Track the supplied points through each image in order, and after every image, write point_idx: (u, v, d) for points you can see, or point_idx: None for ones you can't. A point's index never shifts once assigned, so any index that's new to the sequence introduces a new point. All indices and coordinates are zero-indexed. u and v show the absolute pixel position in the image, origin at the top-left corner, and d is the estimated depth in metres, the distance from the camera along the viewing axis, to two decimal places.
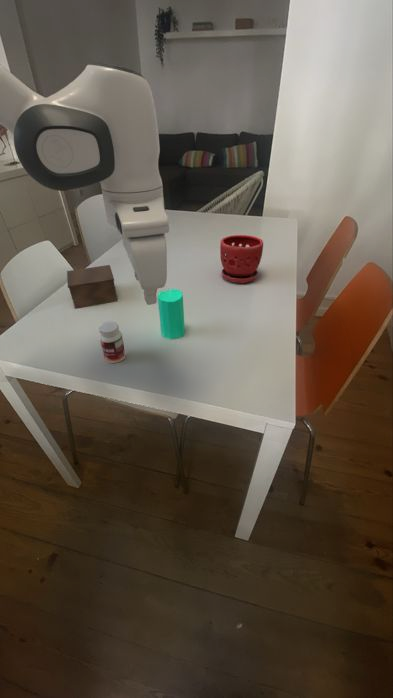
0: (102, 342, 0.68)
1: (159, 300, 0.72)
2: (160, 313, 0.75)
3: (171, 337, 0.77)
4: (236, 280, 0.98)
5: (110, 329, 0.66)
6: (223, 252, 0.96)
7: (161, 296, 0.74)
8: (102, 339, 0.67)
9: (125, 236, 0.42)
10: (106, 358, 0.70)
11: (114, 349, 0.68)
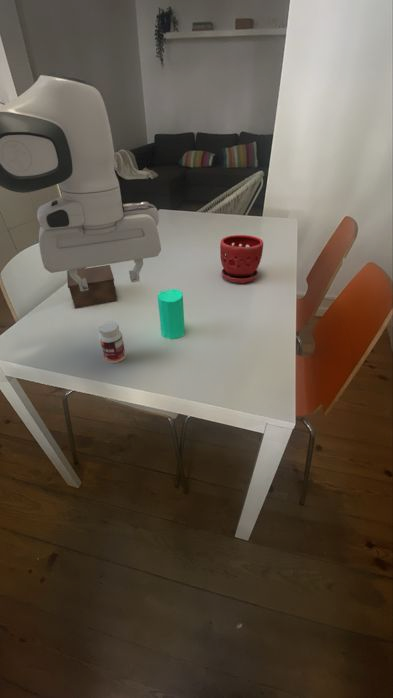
0: (102, 342, 0.68)
1: (159, 300, 0.72)
2: (160, 313, 0.75)
3: (171, 337, 0.77)
4: (236, 280, 0.98)
5: (110, 329, 0.66)
6: (223, 252, 0.96)
7: (161, 296, 0.74)
8: (102, 339, 0.67)
9: None
10: (106, 358, 0.70)
11: (114, 349, 0.68)
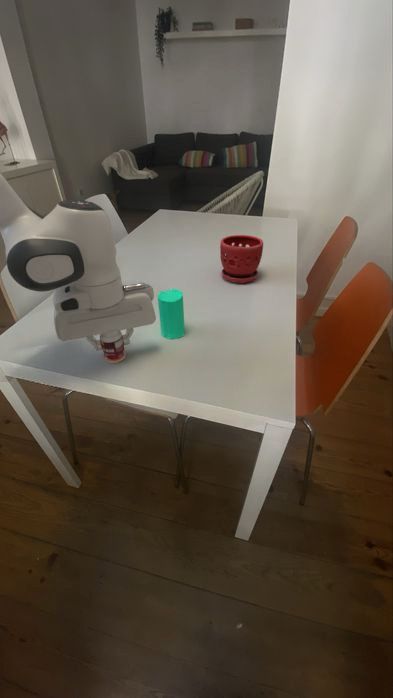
0: (102, 342, 0.68)
1: (159, 300, 0.72)
2: (160, 313, 0.75)
3: (171, 337, 0.77)
4: (236, 280, 0.98)
5: None
6: (223, 252, 0.96)
7: (161, 296, 0.74)
8: (102, 339, 0.67)
9: None
10: (106, 358, 0.70)
11: (114, 349, 0.68)
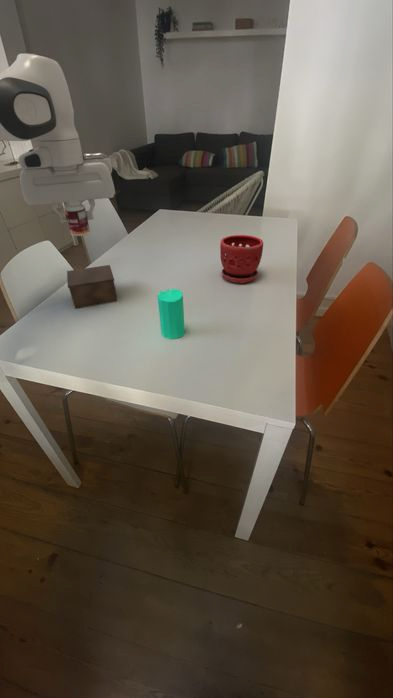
0: (66, 212, 0.75)
1: (159, 300, 0.72)
2: (160, 313, 0.75)
3: (171, 337, 0.77)
4: (236, 280, 0.98)
5: None
6: (223, 252, 0.96)
7: (161, 296, 0.74)
8: (66, 208, 0.75)
9: None
10: (71, 231, 0.78)
11: (78, 219, 0.76)
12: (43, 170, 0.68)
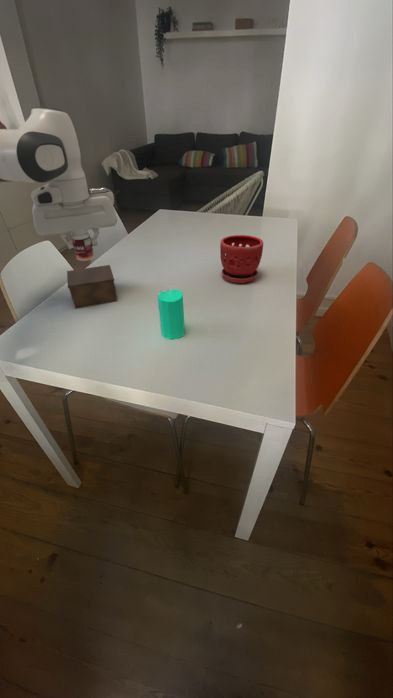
0: (73, 240, 0.83)
1: (159, 300, 0.72)
2: (160, 313, 0.75)
3: (171, 337, 0.77)
4: (236, 280, 0.98)
5: None
6: (223, 252, 0.96)
7: (161, 296, 0.74)
8: (73, 237, 0.82)
9: None
10: (78, 257, 0.85)
11: (84, 246, 0.84)
12: (54, 205, 0.75)
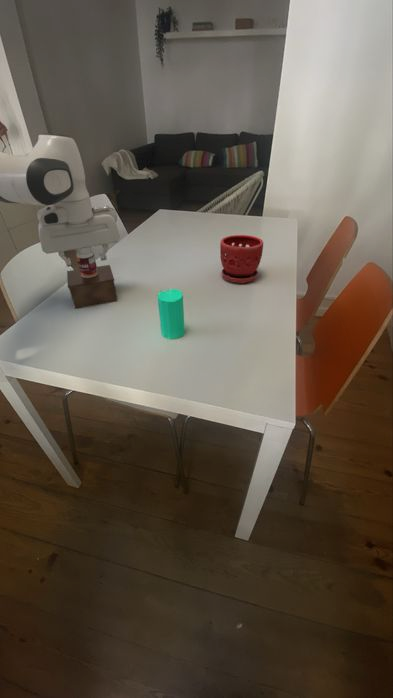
0: (78, 259, 0.86)
1: (159, 300, 0.72)
2: (160, 313, 0.75)
3: (171, 337, 0.77)
4: (236, 280, 0.98)
5: None
6: (223, 252, 0.96)
7: (161, 296, 0.74)
8: (78, 256, 0.85)
9: None
10: (82, 274, 0.89)
11: (89, 264, 0.87)
12: (59, 225, 0.78)
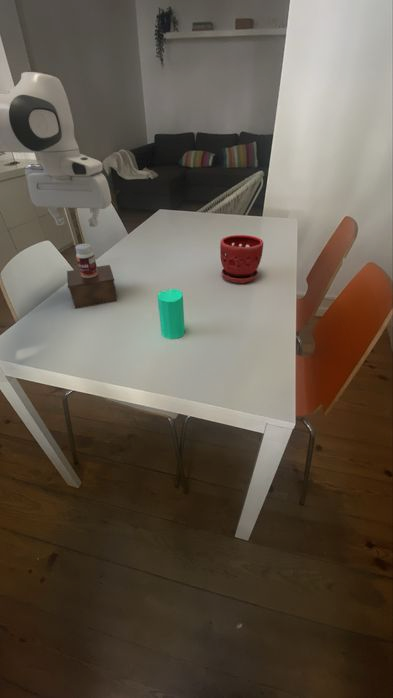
0: (78, 259, 0.86)
1: (159, 300, 0.72)
2: (160, 313, 0.75)
3: (171, 337, 0.77)
4: (236, 280, 0.98)
5: (84, 247, 0.85)
6: (223, 252, 0.96)
7: (161, 296, 0.74)
8: (78, 256, 0.85)
9: (91, 173, 0.71)
10: (82, 274, 0.89)
11: (89, 264, 0.87)
12: None
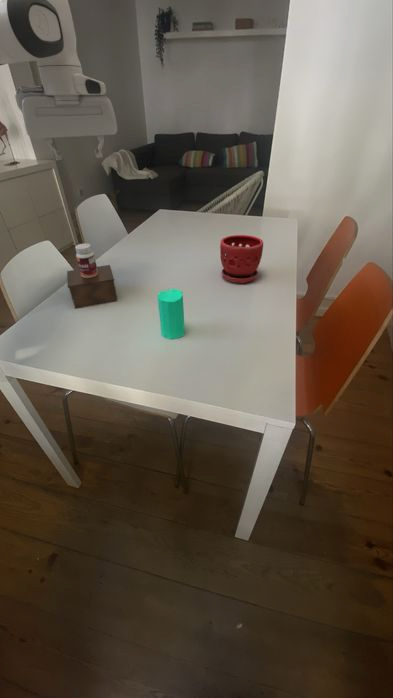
0: (78, 259, 0.86)
1: (159, 300, 0.72)
2: (160, 313, 0.75)
3: (171, 337, 0.77)
4: (236, 280, 0.98)
5: (84, 247, 0.85)
6: (223, 252, 0.96)
7: (161, 296, 0.74)
8: (78, 256, 0.85)
9: (105, 92, 0.70)
10: (82, 274, 0.89)
11: (88, 264, 0.87)
12: None
